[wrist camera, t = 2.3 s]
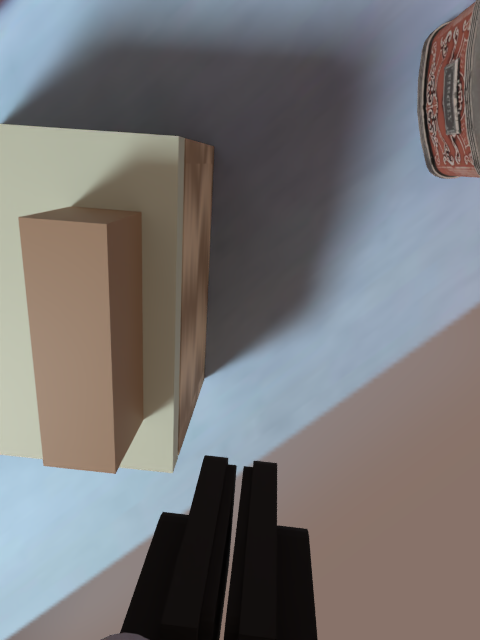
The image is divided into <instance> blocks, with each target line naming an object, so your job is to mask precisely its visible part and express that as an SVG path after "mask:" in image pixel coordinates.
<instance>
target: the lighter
mask: <svg viewBox="0 0 480 640" xmlns="http://www.w3.org/2000/svg"><path fill="white" fill-rule="evenodd" d="M417 114H418V122H419V131H420V140H421V144H422V149H423V153H424V157H425V161H426V165H427V168H428V170H429V172H430V173H432V174H433V175H434V176H436V177H440V178H446V179H450V178H458V177H461V176H464V177H480V0H476V2H474V3H473V4H472V5H471V6H470V7H468V8H467V9H466V10H465V11H463V12H462V13H461V14H460V15H459V16H457V17H456V18H455V19H454V20H452V21H450V22H447V23H445V24H442V25H441V26H440V27H439V28H437V29H436V30H435V31H434V32H432V33H431V34H430V35H429V37H428V38H427V39H426V41H425V42H424V45H423V49H422V54H421V62H420V69H419V77H418V101H417Z"/></svg>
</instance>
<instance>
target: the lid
mask: <svg viewBox="0 0 480 640" xmlns="http://www.w3.org/2000/svg"><path fill="white" fill-rule="evenodd" d="M184 149H185V138H183V137H180V136H169V135H155V134H140V133H125V132H111V131H96V130H81V129H67V128H52V127H38V126H23V125H8V124H0V455H9V456H18V457H27V458H36V459H43V464H44V466H50V467H59V468H68V469H77V470H87V471H96V472H105V473H114V474H116V472H117V470H118V468H119V467H120V468H129V469H139V470H148V471H157V472H167V473H173V471H174V468H175V465H176V462H177V459H178V419H179V374H180V329H181V284H182V239H183V194H184Z"/></svg>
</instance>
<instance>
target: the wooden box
mask: <svg viewBox="0 0 480 640" xmlns="http://www.w3.org/2000/svg"><path fill="white" fill-rule="evenodd" d="M213 165H214V146H211V145H207V144H204V143H201V142H197V141H194V140H190V139H187V138H185V149H184V194H183V239H182V284H181V329H180V374H179V419H178V455H179V453H180V450H181V447H182V444H183V441H184V438H185V435H186V432H187V429H188V426H189V423H190V420H191V417H192V414H193V411H194V408H195V405H196V402H197V399H198V396H199V393H200V390H201V387H202V384H203V381H204V372H205V349H206V326H207V303H208V280H209V257H210V234H211V211H212V188H213Z"/></svg>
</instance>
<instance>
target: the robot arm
mask: <svg viewBox="0 0 480 640" xmlns="http://www.w3.org/2000/svg"><path fill="white" fill-rule="evenodd" d="M235 480H236V465H228V458H224V457H215V456H206V455H205V456H204V459H203V463H202V467H201V471H200V475H199V479H198V482H197V486H196V490H195V494H194V498H193V502H192V505H191V509H190V513H189V515H184V514H175V513H167V512H163V513H162V514H161V516H160V519H159V521H158V524H157V527H156V530H155V533H154V536H153V539H152V542H151V545H150V547H149V550H148V553H147V556H146V559H145V562H144V565H143V568H142V571H141V574H140V577H139V579H138V582H137V585H136V588H135V591H134V594H133V597H132V600H131V603H130V606H129V609H128V611H127V614H126V618H125V620H124V623H123V626H122V629H121V632H120V633H119V634H114V635H110V636H108V637H106V638H104V639H101V640H219V638H220V630H221V622H222V614H223V607H224V598H225V591H226V583H227V575H228V566H229V556H230V543H231V531H232V517H233V506H234V493H235ZM224 640H317V629H316V617H315V604H314V592H313V580H312V568H311V556H310V544H309V534H308V530H307V529H303V528H294V527H286V526H277V463H270V462H261V461H254V463H253V467H246V466H244V469H243V479H242V487H241V495H240V503H239V512H238V521H237V529H236V537H235V546H234V554H233V562H232V571H231V579H230V588H229V596H228V605H227V613H226V623H225V632H224Z"/></svg>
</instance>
